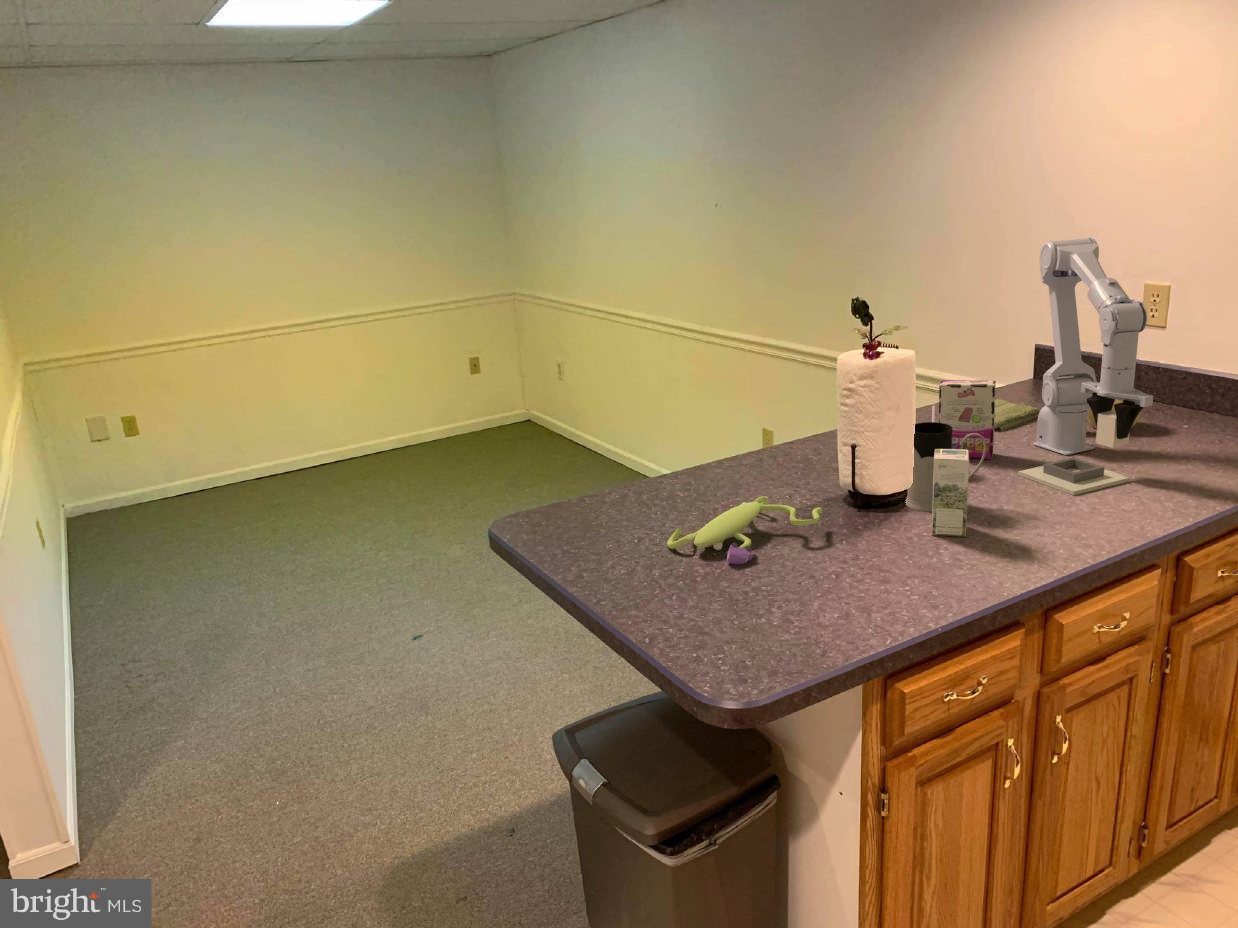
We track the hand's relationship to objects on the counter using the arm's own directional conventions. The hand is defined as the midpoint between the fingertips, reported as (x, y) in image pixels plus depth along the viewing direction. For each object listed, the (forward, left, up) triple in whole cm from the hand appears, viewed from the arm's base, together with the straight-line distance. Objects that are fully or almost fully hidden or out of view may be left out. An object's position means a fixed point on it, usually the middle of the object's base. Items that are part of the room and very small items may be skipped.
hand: (1112, 435), depth 181 cm
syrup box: (+6, -43, -9) cm, 45 cm away
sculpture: (-23, +26, -9) cm, 36 cm away
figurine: (-10, -75, -9) cm, 76 cm away
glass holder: (-5, -35, -9) cm, 37 cm away
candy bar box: (-25, -13, -9) cm, 30 cm away
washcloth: (-42, +11, -9) cm, 44 cm away
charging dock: (-3, -6, -8) cm, 11 cm away
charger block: (0, 0, -2) cm, 2 cm away
